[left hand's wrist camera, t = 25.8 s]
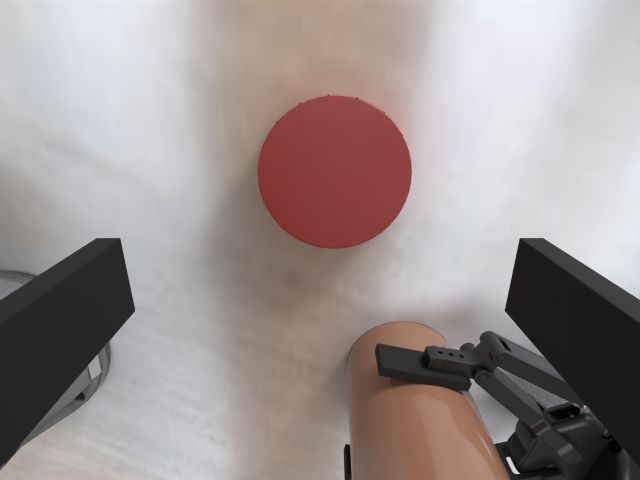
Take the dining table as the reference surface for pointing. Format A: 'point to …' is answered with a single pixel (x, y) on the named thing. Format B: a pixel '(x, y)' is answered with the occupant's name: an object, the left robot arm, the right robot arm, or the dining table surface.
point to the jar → (413, 418)
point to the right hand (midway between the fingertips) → (360, 413)
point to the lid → (334, 172)
